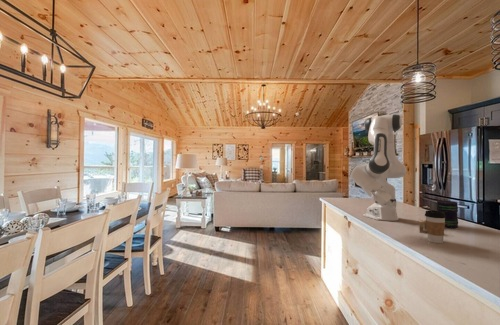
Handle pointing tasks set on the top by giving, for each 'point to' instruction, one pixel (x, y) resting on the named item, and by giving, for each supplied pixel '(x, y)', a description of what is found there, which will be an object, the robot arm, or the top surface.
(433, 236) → the coffee cup
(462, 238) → the top surface
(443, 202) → the storage jar
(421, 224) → the lettered cube
